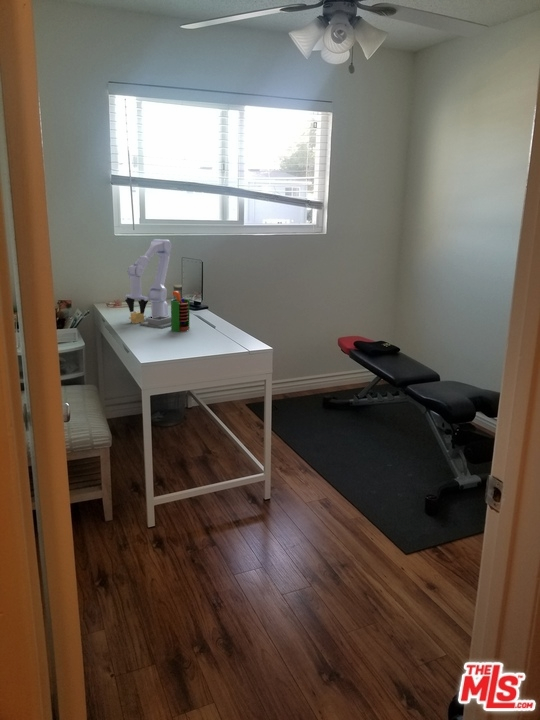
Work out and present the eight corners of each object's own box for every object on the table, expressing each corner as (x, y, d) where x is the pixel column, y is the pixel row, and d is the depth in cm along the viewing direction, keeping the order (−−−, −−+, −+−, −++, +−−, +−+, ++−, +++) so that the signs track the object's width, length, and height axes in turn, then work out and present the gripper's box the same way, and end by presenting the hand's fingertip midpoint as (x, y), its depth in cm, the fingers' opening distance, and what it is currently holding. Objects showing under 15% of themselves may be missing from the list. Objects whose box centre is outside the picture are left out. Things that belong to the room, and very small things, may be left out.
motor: (184, 332, 276) (184, 293, 271) (168, 331, 278) (167, 292, 273) (191, 328, 286) (190, 290, 281) (175, 327, 288) (174, 289, 282)
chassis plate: (157, 320, 303) (157, 314, 302) (178, 323, 296) (178, 317, 295) (140, 325, 291) (140, 318, 290) (162, 328, 284) (161, 321, 283)
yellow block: (140, 320, 303) (139, 309, 301) (145, 321, 301) (145, 310, 299) (129, 323, 295) (128, 311, 294) (134, 324, 293) (134, 312, 292)
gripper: (120, 287, 293) (121, 312, 297) (141, 289, 286) (142, 315, 290) (129, 286, 299) (130, 310, 303) (150, 288, 292) (151, 313, 296)
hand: (137, 312), depth 297 cm, fingers open, 7 cm apart
